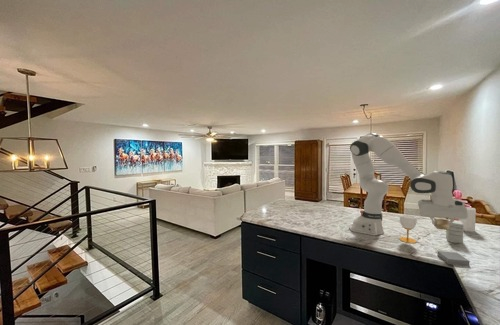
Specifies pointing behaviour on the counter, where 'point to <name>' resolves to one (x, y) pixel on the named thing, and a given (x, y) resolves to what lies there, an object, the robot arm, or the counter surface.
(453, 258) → the plate
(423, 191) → the robot arm
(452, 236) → the supplement box
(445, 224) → the maple cube
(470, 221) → the cup
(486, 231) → the counter surface
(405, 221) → the cup
